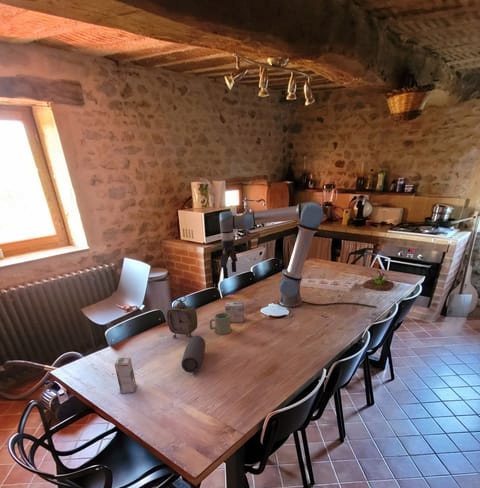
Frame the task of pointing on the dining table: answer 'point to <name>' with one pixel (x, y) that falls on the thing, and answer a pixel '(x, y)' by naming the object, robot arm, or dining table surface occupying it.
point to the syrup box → (125, 374)
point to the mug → (221, 323)
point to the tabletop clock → (182, 318)
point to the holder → (329, 284)
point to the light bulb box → (235, 311)
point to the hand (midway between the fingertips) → (230, 275)
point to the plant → (379, 283)
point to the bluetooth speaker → (193, 354)
